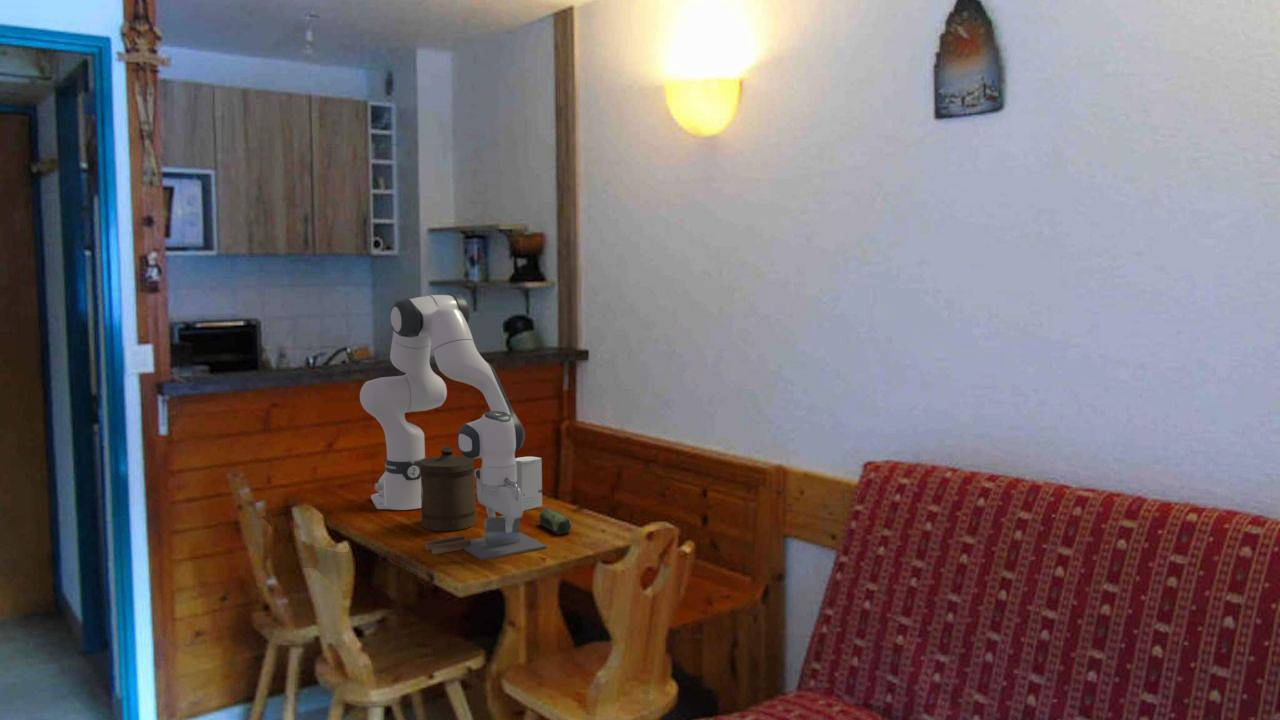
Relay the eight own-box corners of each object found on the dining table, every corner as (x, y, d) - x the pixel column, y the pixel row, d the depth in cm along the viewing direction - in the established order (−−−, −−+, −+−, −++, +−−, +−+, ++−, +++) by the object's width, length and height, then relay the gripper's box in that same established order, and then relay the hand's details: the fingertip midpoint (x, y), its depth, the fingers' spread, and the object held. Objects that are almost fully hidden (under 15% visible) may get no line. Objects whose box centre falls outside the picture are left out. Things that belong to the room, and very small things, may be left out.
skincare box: (521, 511, 291) (520, 461, 290) (508, 508, 295) (507, 458, 294) (543, 506, 297) (542, 457, 296) (530, 502, 301) (529, 454, 300)
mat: (455, 544, 260) (455, 542, 260) (518, 533, 270) (518, 531, 270) (481, 560, 247) (481, 558, 246) (546, 548, 256) (546, 545, 256)
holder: (425, 549, 256) (425, 541, 256) (461, 542, 262) (461, 535, 261) (433, 554, 251) (433, 546, 251) (470, 547, 257) (470, 540, 257)
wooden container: (444, 514, 289) (442, 439, 286) (486, 521, 282) (484, 444, 279) (410, 527, 276) (408, 449, 273) (453, 534, 269) (451, 454, 266)
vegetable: (574, 534, 269) (574, 516, 268) (557, 537, 266) (557, 519, 266) (551, 522, 281) (551, 504, 280) (535, 525, 278) (534, 507, 278)
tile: (484, 545, 257) (484, 519, 256) (516, 539, 262) (515, 513, 261) (488, 547, 255) (487, 520, 254) (519, 541, 260) (519, 515, 259)
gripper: (528, 481, 249) (529, 535, 251) (493, 466, 266) (494, 517, 268) (505, 485, 246) (507, 539, 247) (471, 469, 263) (473, 520, 264)
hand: (500, 527), depth 258 cm, fingers open, 8 cm apart
